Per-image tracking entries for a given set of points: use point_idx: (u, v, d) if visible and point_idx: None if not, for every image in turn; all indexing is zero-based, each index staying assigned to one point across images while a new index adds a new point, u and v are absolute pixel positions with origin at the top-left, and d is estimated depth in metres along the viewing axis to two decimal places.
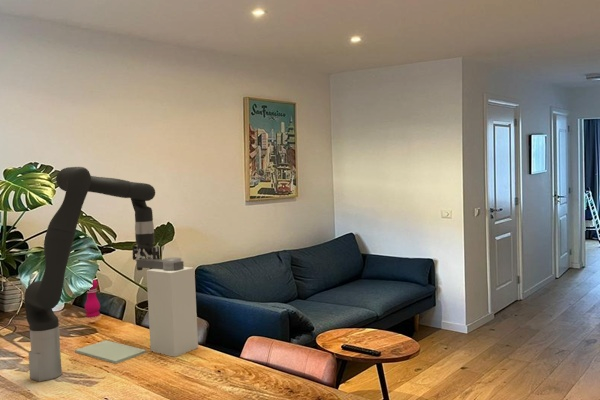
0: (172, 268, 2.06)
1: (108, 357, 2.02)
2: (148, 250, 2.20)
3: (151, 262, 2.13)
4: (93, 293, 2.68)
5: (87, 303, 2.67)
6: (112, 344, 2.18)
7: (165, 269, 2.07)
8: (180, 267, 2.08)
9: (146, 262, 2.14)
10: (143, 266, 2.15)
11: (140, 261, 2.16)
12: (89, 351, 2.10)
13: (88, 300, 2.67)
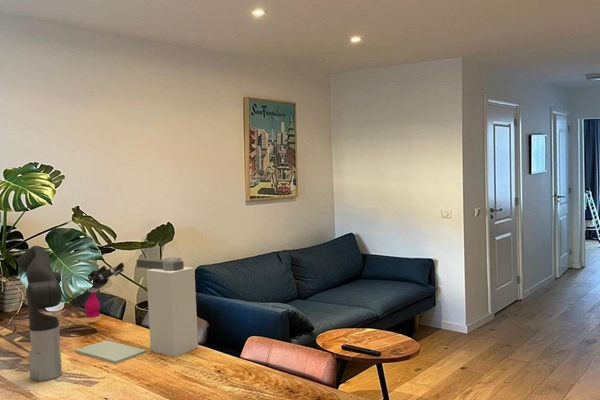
0: (172, 268, 2.06)
1: (108, 357, 2.02)
2: None
3: (151, 262, 2.13)
4: (93, 293, 2.68)
5: (87, 303, 2.67)
6: (112, 344, 2.18)
7: (165, 269, 2.07)
8: (180, 267, 2.08)
9: (146, 262, 2.14)
10: (143, 266, 2.15)
11: (140, 261, 2.16)
12: (89, 351, 2.10)
13: (88, 300, 2.67)
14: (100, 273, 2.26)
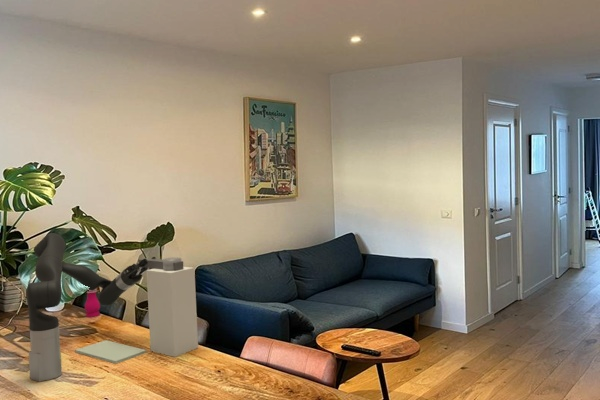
0: (172, 268, 2.06)
1: (108, 357, 2.02)
2: None
3: (152, 262, 2.13)
4: (93, 293, 2.68)
5: (87, 303, 2.67)
6: (112, 344, 2.18)
7: (165, 269, 2.07)
8: (180, 267, 2.08)
9: (147, 262, 2.15)
10: None
11: None
12: (89, 351, 2.10)
13: (88, 300, 2.67)
14: None
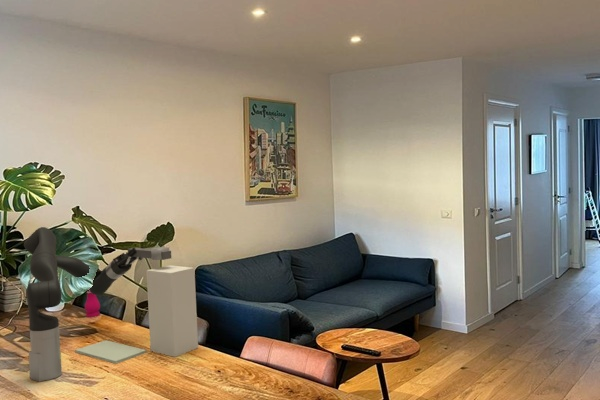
0: (160, 257, 2.10)
1: (108, 357, 2.02)
2: None
3: (141, 251, 2.17)
4: None
5: (87, 303, 2.67)
6: (112, 344, 2.18)
7: (153, 258, 2.10)
8: (168, 256, 2.11)
9: (136, 251, 2.18)
10: (133, 255, 2.20)
11: None
12: (89, 351, 2.10)
13: (88, 300, 2.67)
14: (130, 256, 2.20)
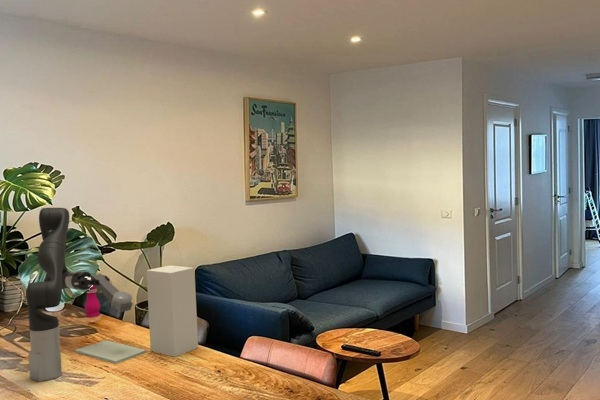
0: (119, 308, 2.05)
1: (108, 357, 2.02)
2: None
3: (103, 288, 2.11)
4: (93, 293, 2.68)
5: (87, 303, 2.67)
6: (112, 344, 2.18)
7: (112, 305, 2.06)
8: (127, 308, 2.07)
9: (99, 284, 2.13)
10: (96, 285, 2.14)
11: None
12: (89, 351, 2.10)
13: (88, 300, 2.67)
14: None
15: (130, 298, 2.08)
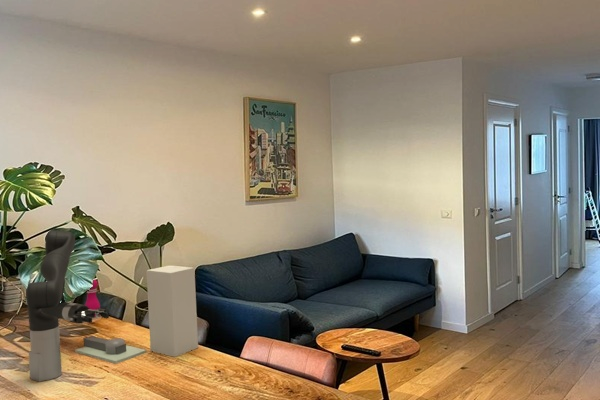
0: (114, 352, 2.06)
1: (108, 357, 2.02)
2: None
3: (96, 343, 2.13)
4: (93, 293, 2.68)
5: (87, 303, 2.67)
6: None
7: (107, 352, 2.06)
8: (122, 350, 2.07)
9: (91, 342, 2.14)
10: (89, 345, 2.15)
11: (86, 340, 2.16)
12: (89, 351, 2.10)
13: (88, 300, 2.67)
14: None
15: (122, 340, 2.09)
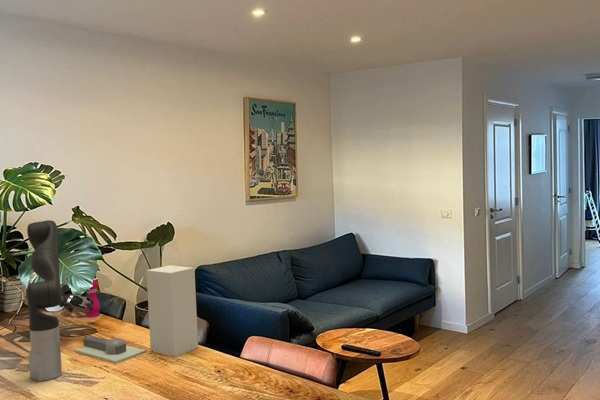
0: (114, 352, 2.06)
1: (108, 357, 2.02)
2: (81, 297, 2.30)
3: (96, 343, 2.13)
4: (93, 293, 2.68)
5: None
6: None
7: (107, 352, 2.06)
8: (122, 350, 2.07)
9: (91, 342, 2.14)
10: (89, 345, 2.15)
11: (86, 340, 2.16)
12: (89, 351, 2.10)
13: None
14: None
15: (122, 340, 2.09)
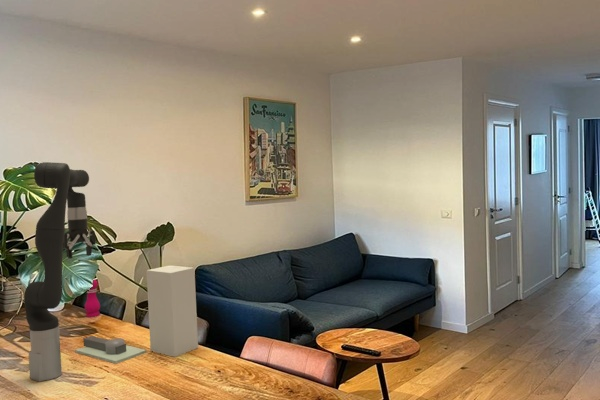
0: (114, 352, 2.06)
1: (108, 357, 2.02)
2: (86, 234, 2.26)
3: (96, 343, 2.13)
4: (93, 293, 2.68)
5: (87, 303, 2.67)
6: None
7: (107, 352, 2.06)
8: (122, 350, 2.07)
9: (91, 342, 2.14)
10: (89, 345, 2.15)
11: (86, 340, 2.16)
12: (89, 351, 2.10)
13: (88, 300, 2.67)
14: None
15: (122, 340, 2.09)
